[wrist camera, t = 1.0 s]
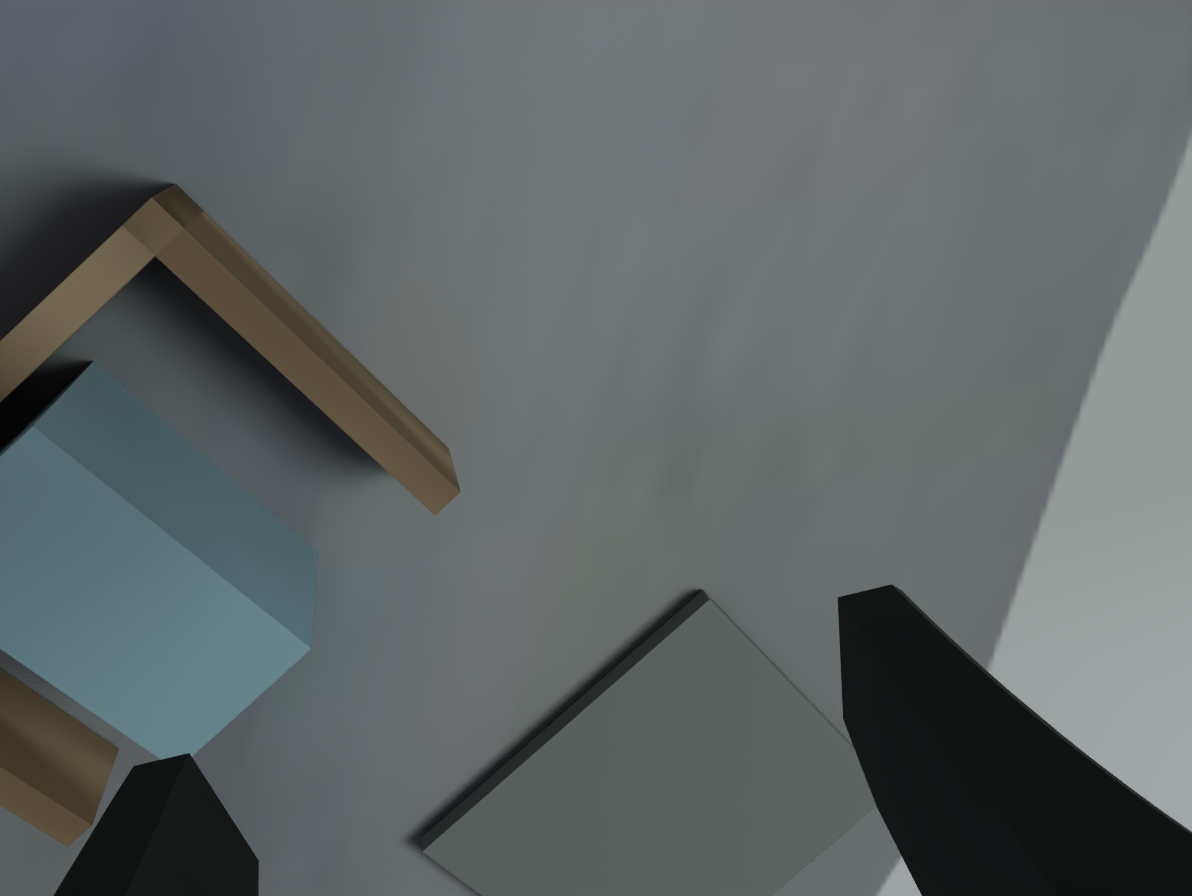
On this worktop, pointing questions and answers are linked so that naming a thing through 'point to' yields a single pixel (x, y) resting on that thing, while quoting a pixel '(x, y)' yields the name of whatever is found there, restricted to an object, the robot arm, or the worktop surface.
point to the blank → (144, 571)
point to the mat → (664, 780)
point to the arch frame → (292, 345)
